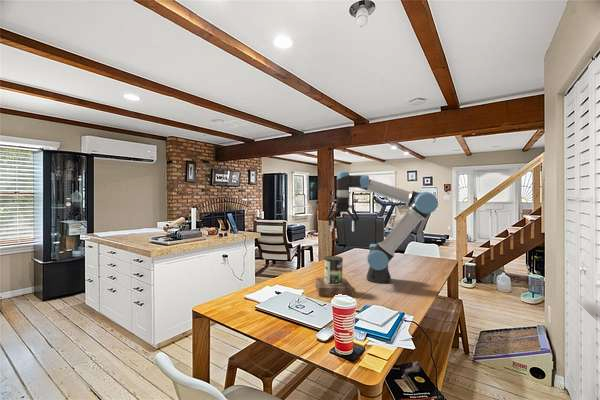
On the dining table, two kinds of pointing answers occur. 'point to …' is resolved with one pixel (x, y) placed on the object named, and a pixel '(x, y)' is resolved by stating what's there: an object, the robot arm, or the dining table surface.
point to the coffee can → (333, 270)
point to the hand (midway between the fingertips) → (342, 231)
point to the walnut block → (333, 288)
